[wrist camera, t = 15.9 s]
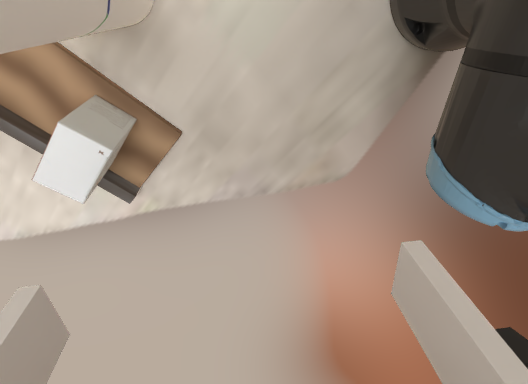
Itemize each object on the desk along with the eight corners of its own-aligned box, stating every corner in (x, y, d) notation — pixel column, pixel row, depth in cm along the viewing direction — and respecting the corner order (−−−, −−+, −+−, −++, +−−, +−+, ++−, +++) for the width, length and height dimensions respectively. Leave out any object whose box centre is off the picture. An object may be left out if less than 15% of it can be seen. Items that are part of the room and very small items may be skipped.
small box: (95, 93, 39) (57, 119, 30) (138, 118, 42) (114, 150, 33) (71, 143, 42) (28, 181, 33) (112, 164, 44) (82, 205, 35)
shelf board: (14, 10, 35) (-7, 11, 32) (182, 131, 44) (178, 141, 41) (-27, 96, 39) (-49, 104, 36) (135, 191, 48) (129, 204, 45)
